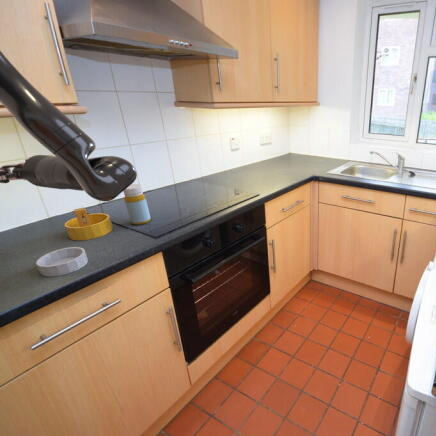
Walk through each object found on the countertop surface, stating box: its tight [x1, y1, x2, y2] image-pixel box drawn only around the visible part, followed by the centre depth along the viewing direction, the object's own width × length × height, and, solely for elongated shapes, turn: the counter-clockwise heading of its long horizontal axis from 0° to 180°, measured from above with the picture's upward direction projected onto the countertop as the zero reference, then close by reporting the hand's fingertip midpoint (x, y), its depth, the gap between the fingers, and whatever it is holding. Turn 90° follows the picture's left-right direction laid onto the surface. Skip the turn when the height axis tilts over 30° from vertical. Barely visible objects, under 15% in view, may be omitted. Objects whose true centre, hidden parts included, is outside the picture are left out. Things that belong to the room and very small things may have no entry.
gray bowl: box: [35, 246, 89, 278], centre depth 90 cm, size 11×11×4 cm
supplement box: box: [73, 207, 91, 227], centre depth 107 cm, size 3×3×10 cm
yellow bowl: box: [64, 212, 114, 241], centre depth 110 cm, size 13×13×5 cm
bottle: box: [122, 183, 152, 226], centre depth 117 cm, size 7×7×15 cm
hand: (7, 167), depth 73 cm, fingers open, 8 cm apart
